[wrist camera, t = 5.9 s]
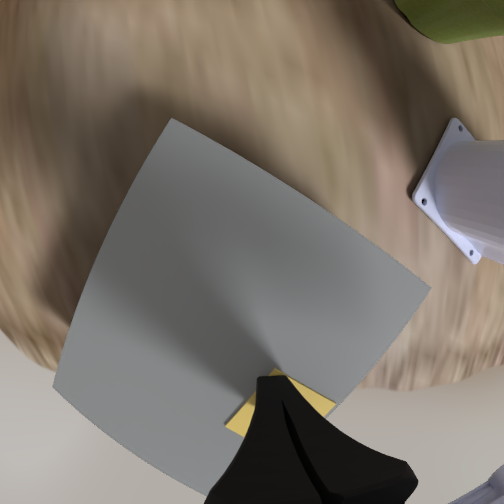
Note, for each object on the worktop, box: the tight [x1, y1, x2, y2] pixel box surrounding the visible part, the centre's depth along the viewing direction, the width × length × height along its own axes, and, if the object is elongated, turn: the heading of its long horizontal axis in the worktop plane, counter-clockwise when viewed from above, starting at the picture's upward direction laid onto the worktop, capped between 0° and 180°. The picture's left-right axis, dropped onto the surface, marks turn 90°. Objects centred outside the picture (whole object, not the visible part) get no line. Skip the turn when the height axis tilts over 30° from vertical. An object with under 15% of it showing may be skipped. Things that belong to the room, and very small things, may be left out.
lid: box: [53, 118, 431, 496], centre depth 12 cm, size 12×16×1 cm
